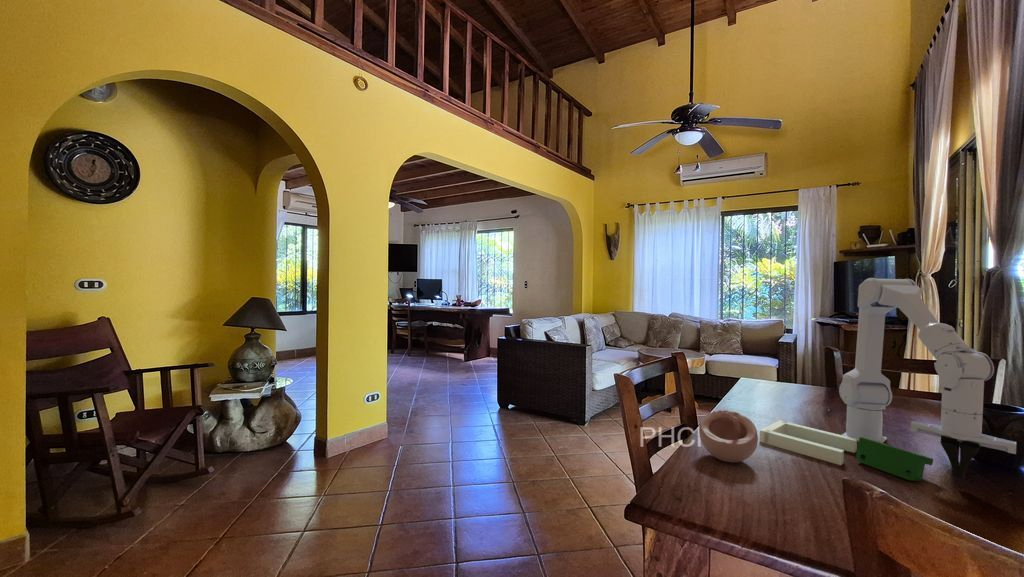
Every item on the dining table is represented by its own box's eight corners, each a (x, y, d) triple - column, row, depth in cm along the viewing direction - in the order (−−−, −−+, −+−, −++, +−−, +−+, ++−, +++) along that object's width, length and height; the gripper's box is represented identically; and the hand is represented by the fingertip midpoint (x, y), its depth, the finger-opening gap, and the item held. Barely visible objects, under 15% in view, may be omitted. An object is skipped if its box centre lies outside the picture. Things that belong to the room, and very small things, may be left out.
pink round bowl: (693, 461, 94) (695, 411, 94) (703, 445, 104) (704, 400, 103) (754, 477, 87) (756, 423, 87) (758, 458, 97) (760, 409, 97)
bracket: (779, 430, 116) (779, 420, 116) (856, 450, 103) (857, 439, 103) (759, 441, 107) (759, 430, 107) (841, 465, 94) (841, 452, 94)
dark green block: (916, 497, 89) (945, 466, 86) (900, 494, 87) (930, 462, 84) (862, 455, 100) (886, 426, 97) (847, 452, 98) (871, 422, 95)
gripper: (909, 404, 87) (906, 468, 88) (1017, 424, 76) (1014, 497, 76) (914, 399, 92) (912, 460, 92) (1017, 417, 81) (1014, 486, 81)
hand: (958, 476), depth 85 cm, fingers closed
